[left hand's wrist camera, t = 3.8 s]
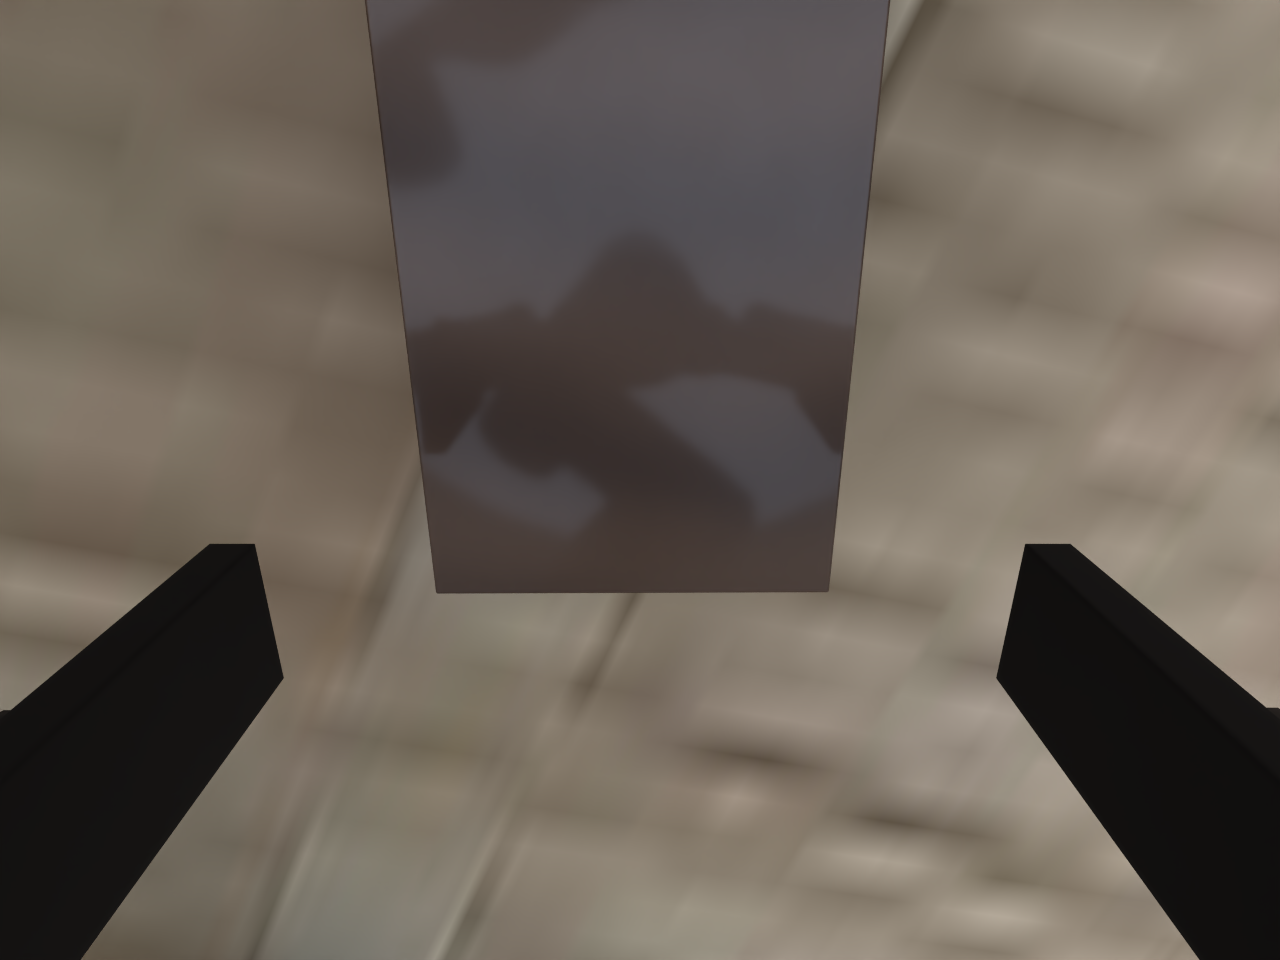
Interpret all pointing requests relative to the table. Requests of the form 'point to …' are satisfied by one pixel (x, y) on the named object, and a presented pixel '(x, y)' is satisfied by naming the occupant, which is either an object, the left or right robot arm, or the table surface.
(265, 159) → the table surface
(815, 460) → the small wooden cabinet
